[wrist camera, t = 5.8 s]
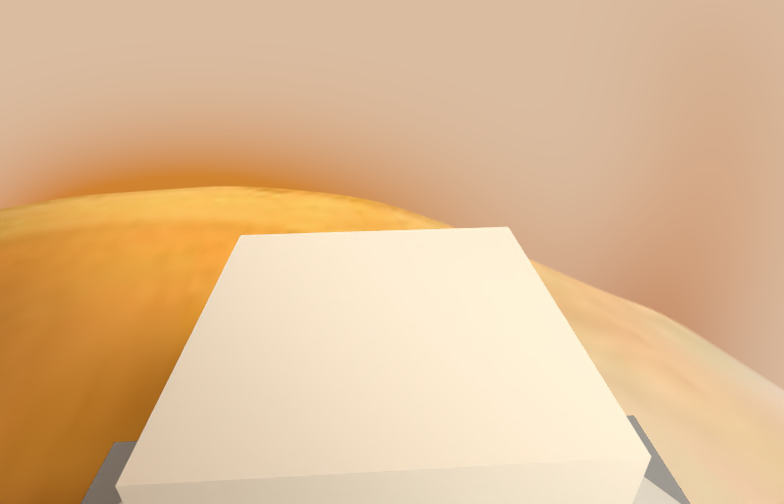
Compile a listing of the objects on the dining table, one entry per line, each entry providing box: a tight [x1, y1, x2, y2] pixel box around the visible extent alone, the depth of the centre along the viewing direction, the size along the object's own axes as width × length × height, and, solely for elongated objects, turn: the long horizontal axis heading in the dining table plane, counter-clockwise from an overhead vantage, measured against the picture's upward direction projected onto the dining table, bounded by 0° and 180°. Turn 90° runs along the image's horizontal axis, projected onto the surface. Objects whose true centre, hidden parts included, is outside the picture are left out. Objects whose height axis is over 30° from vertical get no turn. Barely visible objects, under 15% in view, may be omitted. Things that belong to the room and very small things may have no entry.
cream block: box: [115, 227, 651, 504], centre depth 10 cm, size 6×6×10 cm
